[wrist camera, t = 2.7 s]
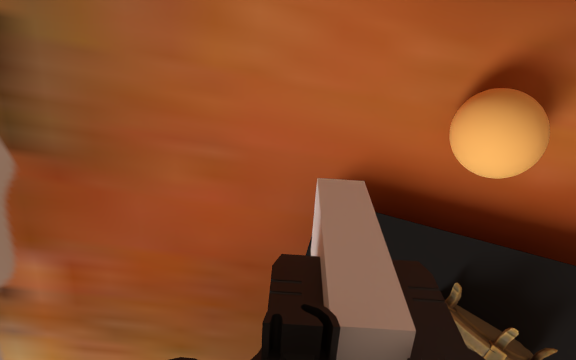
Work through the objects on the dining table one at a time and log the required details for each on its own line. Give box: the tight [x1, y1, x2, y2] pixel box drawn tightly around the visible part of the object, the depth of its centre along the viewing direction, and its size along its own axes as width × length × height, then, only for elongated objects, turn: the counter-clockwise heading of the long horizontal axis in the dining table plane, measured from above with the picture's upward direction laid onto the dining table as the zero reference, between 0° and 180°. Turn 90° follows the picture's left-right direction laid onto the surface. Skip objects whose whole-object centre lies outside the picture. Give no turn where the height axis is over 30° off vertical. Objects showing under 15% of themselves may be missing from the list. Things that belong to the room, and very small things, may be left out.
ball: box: [450, 88, 550, 178], centre depth 26 cm, size 6×6×6 cm
